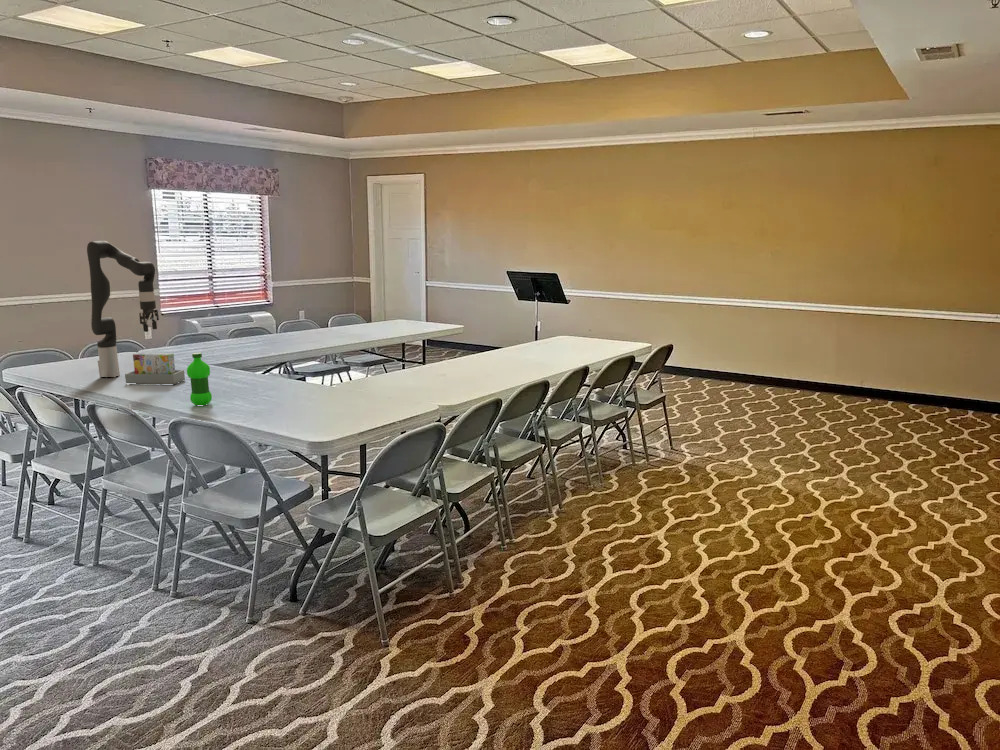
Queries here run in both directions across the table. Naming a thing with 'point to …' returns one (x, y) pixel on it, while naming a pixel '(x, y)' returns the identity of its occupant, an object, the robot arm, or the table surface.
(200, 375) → the plastic bottle
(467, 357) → the table surface
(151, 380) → the bin
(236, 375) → the table surface
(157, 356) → the snack box
